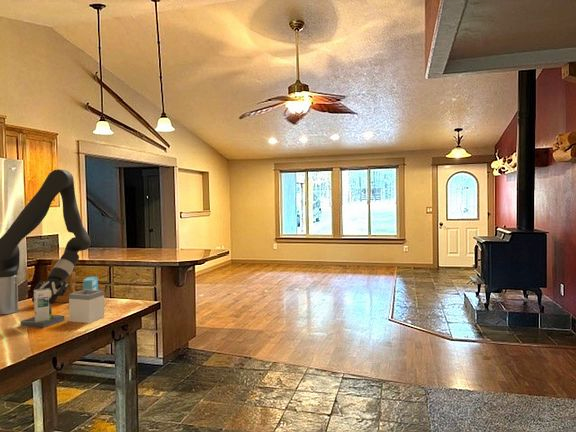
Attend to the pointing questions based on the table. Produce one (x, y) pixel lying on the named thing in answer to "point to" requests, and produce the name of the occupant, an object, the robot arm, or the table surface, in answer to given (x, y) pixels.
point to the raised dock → (86, 306)
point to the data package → (90, 283)
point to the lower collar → (32, 323)
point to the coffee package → (69, 281)
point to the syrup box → (42, 305)
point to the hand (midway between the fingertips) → (41, 302)
